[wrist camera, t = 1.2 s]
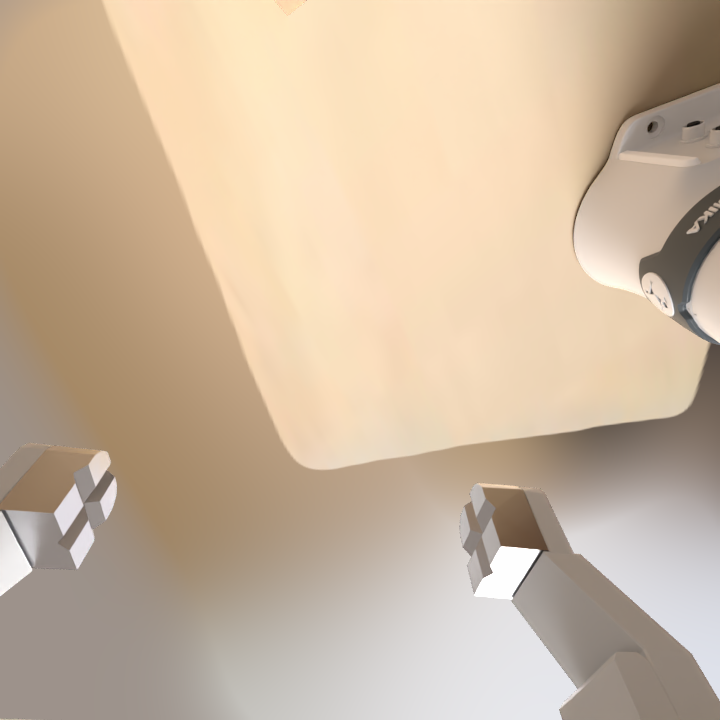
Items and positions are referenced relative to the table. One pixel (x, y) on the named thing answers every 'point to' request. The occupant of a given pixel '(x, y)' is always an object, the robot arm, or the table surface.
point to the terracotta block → (289, 5)
